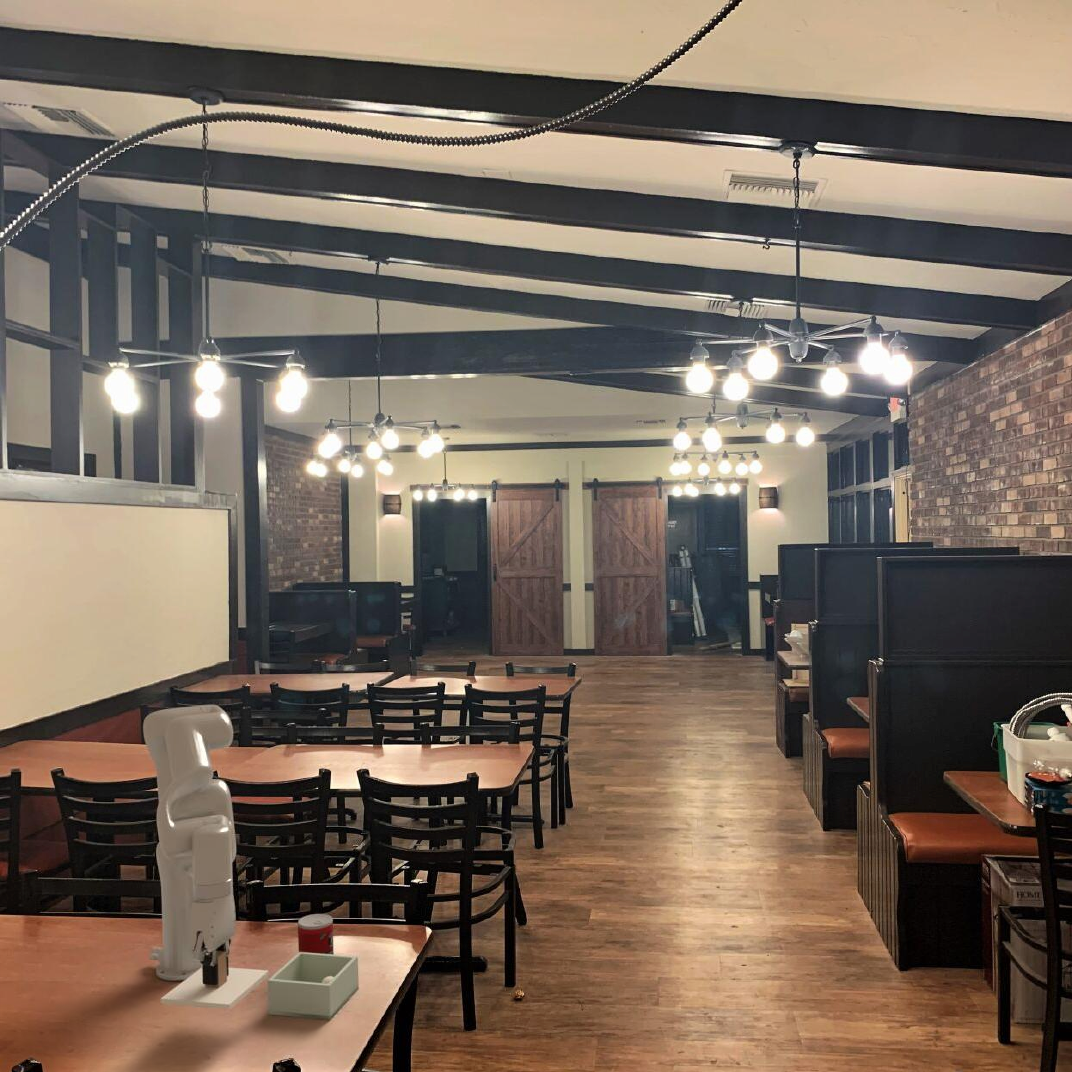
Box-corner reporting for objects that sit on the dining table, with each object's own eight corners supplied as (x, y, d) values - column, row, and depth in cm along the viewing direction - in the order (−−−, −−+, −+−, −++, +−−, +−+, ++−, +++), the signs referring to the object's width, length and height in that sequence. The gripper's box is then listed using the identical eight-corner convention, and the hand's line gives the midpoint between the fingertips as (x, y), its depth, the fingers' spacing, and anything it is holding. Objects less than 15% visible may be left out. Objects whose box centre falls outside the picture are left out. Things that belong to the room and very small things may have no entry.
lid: (160, 1003, 187) (159, 967, 187) (204, 970, 202) (203, 937, 202) (229, 1009, 184) (228, 973, 184) (268, 975, 198) (267, 941, 198)
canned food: (325, 976, 216) (324, 927, 216) (293, 974, 218) (291, 925, 218) (339, 961, 223) (338, 914, 224) (307, 959, 225) (306, 912, 225)
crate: (268, 1014, 199) (267, 980, 199) (300, 983, 213) (299, 951, 213) (330, 1020, 196) (329, 985, 196) (358, 988, 209) (357, 956, 209)
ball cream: (318, 997, 204) (317, 980, 204) (325, 989, 208) (325, 972, 208) (333, 998, 203) (333, 981, 203) (340, 990, 207) (340, 974, 207)
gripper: (219, 873, 202) (221, 961, 202) (172, 902, 186) (175, 997, 186) (251, 875, 200) (253, 963, 200) (206, 904, 184) (209, 1000, 184)
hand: (215, 979), depth 193 cm, fingers closed on lid, 3 cm apart
